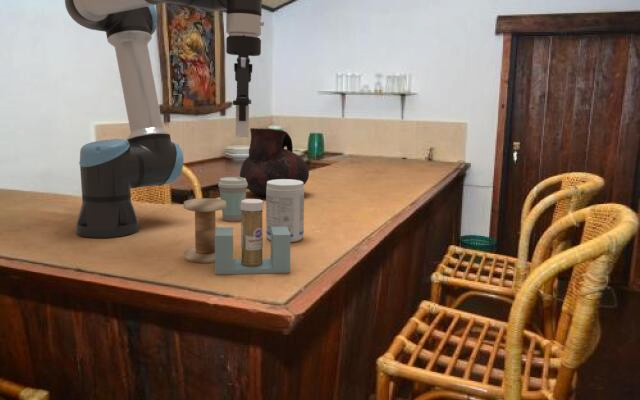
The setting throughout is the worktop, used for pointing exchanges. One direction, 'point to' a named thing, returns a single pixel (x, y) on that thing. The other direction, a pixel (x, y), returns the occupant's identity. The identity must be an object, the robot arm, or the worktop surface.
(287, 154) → the jug
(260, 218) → the sprinkles bottle
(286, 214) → the supplement tub
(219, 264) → the blue-grey u-shaped block
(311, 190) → the worktop surface
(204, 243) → the bobbin
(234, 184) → the coffee cup
